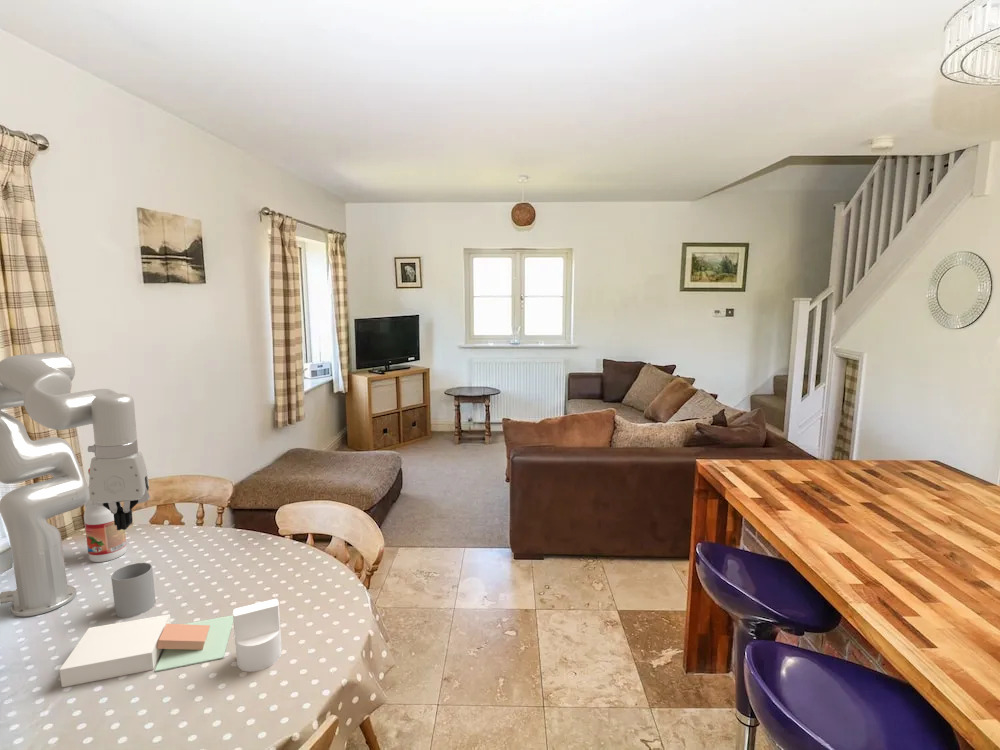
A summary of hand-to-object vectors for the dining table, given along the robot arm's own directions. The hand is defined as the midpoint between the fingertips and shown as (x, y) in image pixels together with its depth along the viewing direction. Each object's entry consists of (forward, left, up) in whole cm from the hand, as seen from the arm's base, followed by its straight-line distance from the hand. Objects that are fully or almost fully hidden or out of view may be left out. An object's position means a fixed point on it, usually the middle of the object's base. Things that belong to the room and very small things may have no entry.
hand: (124, 527), depth 116 cm
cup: (-4, +13, -27) cm, 30 cm away
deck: (-1, -7, -27) cm, 28 cm away
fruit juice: (-21, +47, -27) cm, 58 cm away
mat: (+14, -7, -27) cm, 31 cm away
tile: (+12, -8, -25) cm, 29 cm away
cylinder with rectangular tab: (+28, -17, -27) cm, 43 cm away
